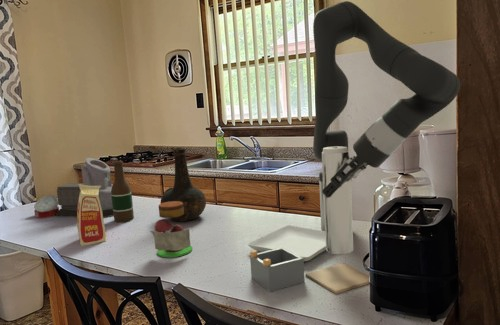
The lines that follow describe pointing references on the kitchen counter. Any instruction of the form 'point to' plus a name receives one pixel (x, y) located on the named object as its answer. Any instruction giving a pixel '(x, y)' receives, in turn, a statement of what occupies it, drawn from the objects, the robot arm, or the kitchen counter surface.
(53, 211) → the red white domed cylinder
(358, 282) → the mat
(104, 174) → the juicer
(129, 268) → the kitchen counter surface
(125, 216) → the beer bottle
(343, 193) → the white tall cylinder
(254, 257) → the box
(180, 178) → the glass bottle
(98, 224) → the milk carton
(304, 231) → the salad plate
